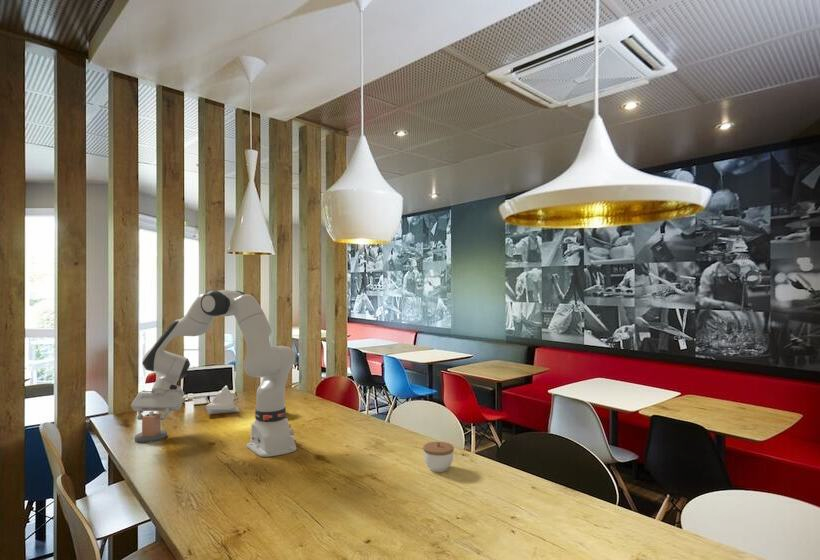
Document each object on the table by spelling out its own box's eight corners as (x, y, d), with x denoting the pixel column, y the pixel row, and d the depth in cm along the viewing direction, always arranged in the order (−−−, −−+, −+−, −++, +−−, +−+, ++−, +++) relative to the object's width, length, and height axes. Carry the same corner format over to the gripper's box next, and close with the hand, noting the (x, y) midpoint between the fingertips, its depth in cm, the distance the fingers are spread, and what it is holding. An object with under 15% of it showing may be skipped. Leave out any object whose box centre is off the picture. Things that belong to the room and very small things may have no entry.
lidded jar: (428, 476, 154) (428, 448, 154) (419, 464, 164) (419, 438, 164) (458, 473, 157) (458, 445, 157) (447, 461, 167) (447, 435, 167)
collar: (160, 432, 194) (160, 413, 195) (154, 436, 189) (154, 417, 190) (148, 432, 194) (148, 413, 195) (142, 436, 189) (142, 417, 190)
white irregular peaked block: (207, 414, 232) (210, 385, 236) (238, 414, 237) (241, 386, 241) (205, 414, 221) (208, 384, 225) (237, 414, 225) (240, 385, 229)
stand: (167, 439, 190) (168, 413, 190) (134, 444, 184) (134, 417, 184) (166, 431, 200) (166, 406, 200) (134, 436, 194) (135, 410, 194)
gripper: (136, 386, 199) (122, 415, 189) (183, 386, 199) (171, 415, 189) (142, 394, 203) (129, 422, 194) (188, 394, 204) (177, 422, 194)
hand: (150, 419), depth 191 cm, fingers open, 8 cm apart
